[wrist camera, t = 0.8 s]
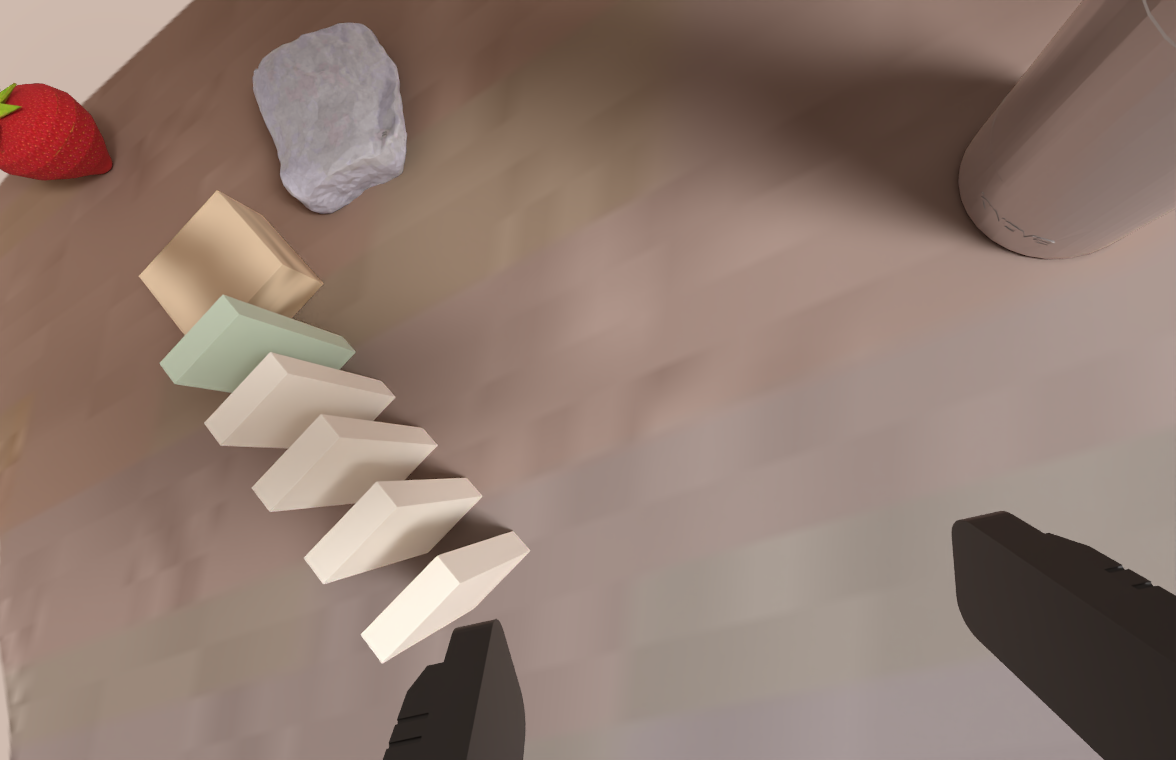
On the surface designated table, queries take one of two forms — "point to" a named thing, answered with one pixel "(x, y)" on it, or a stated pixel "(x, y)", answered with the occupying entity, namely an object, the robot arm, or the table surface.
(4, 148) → the strawberry
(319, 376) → the domino
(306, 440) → the domino
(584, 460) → the table surface
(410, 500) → the domino
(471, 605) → the domino
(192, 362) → the domino
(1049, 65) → the robot arm
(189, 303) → the stop block
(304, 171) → the stone block
